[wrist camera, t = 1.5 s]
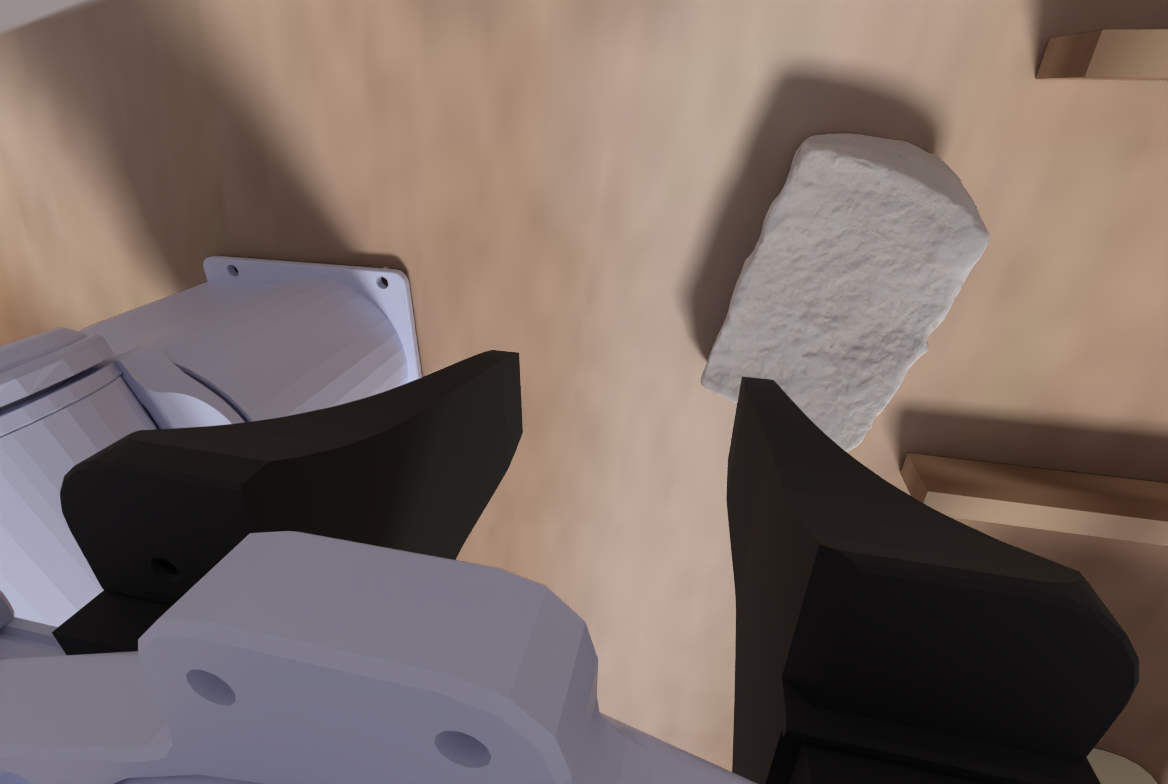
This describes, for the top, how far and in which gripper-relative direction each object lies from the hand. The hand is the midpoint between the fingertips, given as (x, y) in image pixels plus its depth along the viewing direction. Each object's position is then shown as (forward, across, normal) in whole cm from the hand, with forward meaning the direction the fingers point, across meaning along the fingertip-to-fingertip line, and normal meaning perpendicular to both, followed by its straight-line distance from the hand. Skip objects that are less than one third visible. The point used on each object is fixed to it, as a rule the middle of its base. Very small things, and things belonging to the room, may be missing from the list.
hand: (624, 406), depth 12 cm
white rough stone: (+11, -6, 0) cm, 12 cm away
